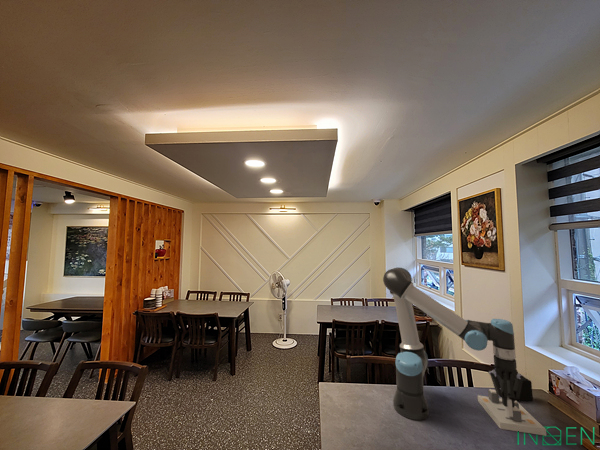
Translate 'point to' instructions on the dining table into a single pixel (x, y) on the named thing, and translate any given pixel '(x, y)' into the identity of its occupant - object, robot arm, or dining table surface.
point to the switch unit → (506, 422)
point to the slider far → (493, 396)
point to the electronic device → (525, 391)
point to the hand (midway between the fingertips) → (509, 414)
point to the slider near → (516, 414)
